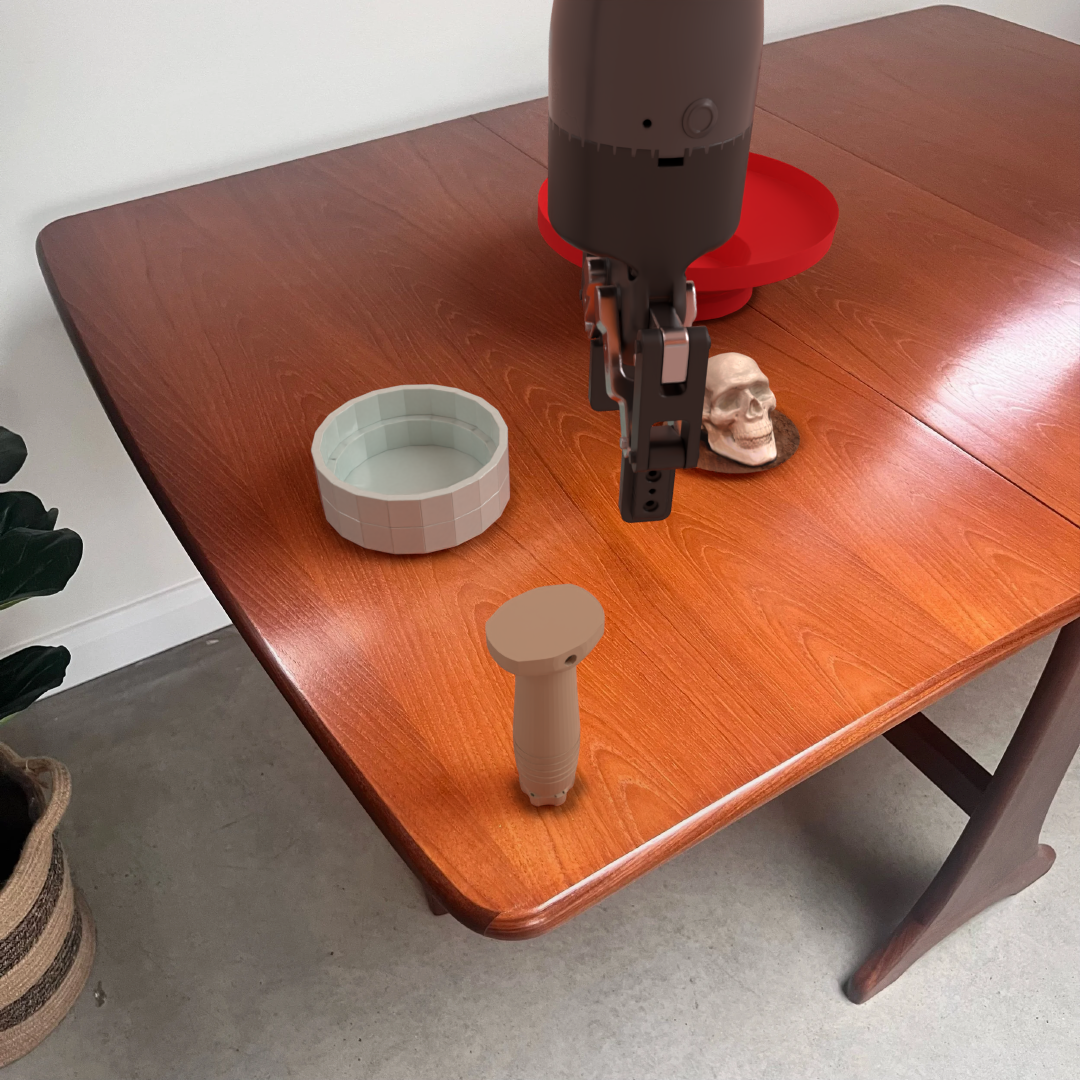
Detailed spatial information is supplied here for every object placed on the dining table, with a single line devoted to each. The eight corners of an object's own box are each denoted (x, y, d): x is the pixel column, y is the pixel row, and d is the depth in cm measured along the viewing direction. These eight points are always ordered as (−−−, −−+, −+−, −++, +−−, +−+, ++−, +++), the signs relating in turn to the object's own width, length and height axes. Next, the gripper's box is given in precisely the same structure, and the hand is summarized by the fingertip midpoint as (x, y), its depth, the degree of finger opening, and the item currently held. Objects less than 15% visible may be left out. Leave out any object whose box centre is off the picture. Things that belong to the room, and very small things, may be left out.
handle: (483, 784, 65) (469, 617, 55) (568, 739, 67) (570, 571, 58) (524, 842, 62) (517, 676, 52) (611, 792, 64) (621, 624, 54)
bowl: (521, 352, 103) (519, 259, 96) (553, 219, 125) (553, 136, 119) (836, 368, 100) (855, 273, 93) (810, 229, 122) (825, 144, 116)
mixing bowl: (311, 562, 80) (298, 502, 76) (335, 443, 92) (325, 386, 88) (510, 557, 81) (507, 497, 77) (510, 439, 92) (507, 382, 88)
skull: (837, 452, 88) (776, 393, 81) (743, 530, 91) (678, 479, 85) (774, 374, 96) (714, 315, 90) (690, 449, 100) (626, 396, 93)
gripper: (527, 46, 43) (529, 381, 54) (577, 186, 32) (568, 568, 43) (705, 40, 44) (672, 372, 54) (812, 174, 33) (745, 554, 44)
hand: (626, 458), depth 49 cm, fingers open, 8 cm apart
